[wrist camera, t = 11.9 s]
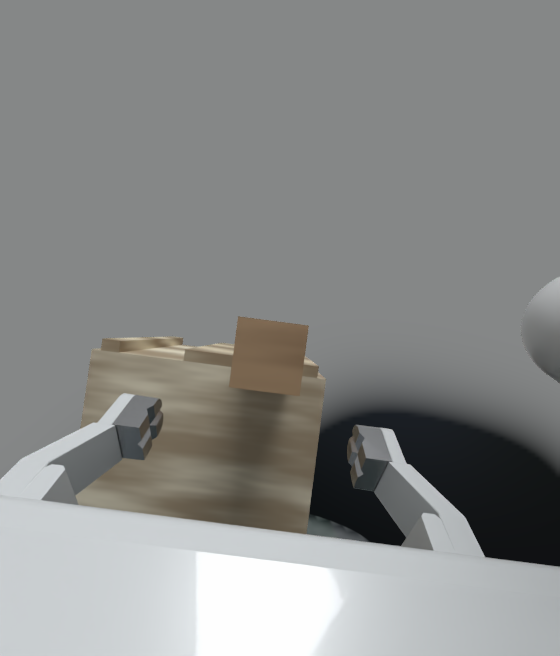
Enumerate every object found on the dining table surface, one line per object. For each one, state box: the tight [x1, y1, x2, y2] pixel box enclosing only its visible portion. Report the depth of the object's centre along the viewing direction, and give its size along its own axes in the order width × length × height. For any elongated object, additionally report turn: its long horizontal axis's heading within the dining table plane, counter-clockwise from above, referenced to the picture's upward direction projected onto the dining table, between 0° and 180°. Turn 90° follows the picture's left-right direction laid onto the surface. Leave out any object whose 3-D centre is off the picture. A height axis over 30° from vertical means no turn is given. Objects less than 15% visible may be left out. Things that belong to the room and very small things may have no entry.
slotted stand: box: [75, 337, 326, 534], centre depth 31 cm, size 16×20×27 cm
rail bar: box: [229, 317, 309, 396], centre depth 25 cm, size 20×4×4 cm, turn 1°
